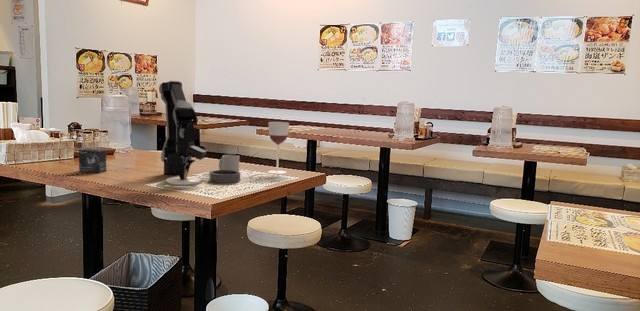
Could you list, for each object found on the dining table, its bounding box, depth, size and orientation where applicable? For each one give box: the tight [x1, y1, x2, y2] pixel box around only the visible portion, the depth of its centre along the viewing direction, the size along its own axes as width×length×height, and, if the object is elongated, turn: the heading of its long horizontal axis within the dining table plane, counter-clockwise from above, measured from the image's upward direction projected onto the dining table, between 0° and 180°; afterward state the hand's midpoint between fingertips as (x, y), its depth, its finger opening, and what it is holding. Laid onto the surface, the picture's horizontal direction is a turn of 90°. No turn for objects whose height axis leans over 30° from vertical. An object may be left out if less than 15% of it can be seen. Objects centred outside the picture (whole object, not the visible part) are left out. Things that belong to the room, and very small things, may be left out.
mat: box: [159, 179, 208, 188], centre depth 191 cm, size 14×14×1 cm
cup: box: [218, 154, 240, 172], centre depth 211 cm, size 7×10×9 cm
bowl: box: [208, 169, 241, 185], centre depth 197 cm, size 12×12×4 cm
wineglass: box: [267, 121, 290, 175], centre depth 226 cm, size 9×10×23 cm
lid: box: [165, 169, 202, 186], centre depth 191 cm, size 13×13×5 cm
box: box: [78, 148, 107, 174], centre depth 207 cm, size 9×6×10 cm, turn 81°
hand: (183, 178), depth 191 cm, fingers closed on lid, 3 cm apart
